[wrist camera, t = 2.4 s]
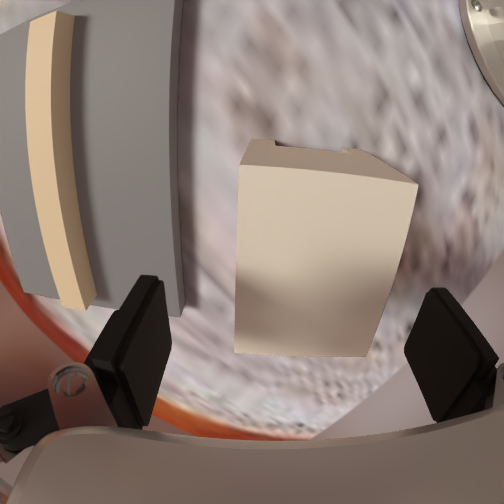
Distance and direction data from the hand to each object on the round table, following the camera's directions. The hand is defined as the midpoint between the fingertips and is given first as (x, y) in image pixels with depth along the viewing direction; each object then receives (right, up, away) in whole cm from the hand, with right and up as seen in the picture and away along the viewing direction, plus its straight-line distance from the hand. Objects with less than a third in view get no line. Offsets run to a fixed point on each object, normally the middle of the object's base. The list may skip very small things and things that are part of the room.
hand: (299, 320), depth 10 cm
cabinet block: (+1, +4, +7) cm, 8 cm away
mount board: (-13, +8, +6) cm, 16 cm away
